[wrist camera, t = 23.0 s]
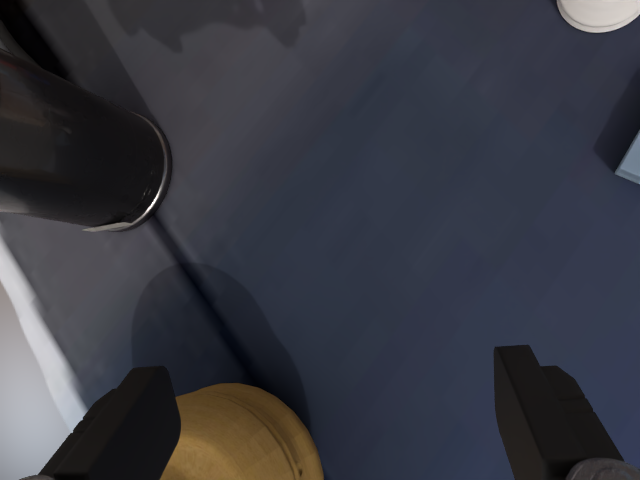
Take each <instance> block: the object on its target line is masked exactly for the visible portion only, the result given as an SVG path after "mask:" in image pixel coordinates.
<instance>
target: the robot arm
mask: <svg viewBox="0 0 640 480" xmlns="http://www.w3.org/2000/svg"><path fill="white" fill-rule="evenodd" d="M0 38H1V40H2V41H3V43H4V44H5V45H6V47H7V48H8V49H9V50H10V52H11V53H12V54H11V53H9V52H7V51H5V50H3V49H1V48H0V211H2V212H8V213H14V214H20V215H26V216H32V217H37V218H43V219H49V220H55V221H61V222H67V223H72V224H78V225H84V226H90V227H94V228H89V229H83V230H85V231H91V232H95V231H101V230H106V231H112V232H123V231H128V230H131V229H133V228H136V227H138V226H139V225H141V224H143V223H144V222H145V221H147V220H148V219H149V218H150V217H151V216H152V215H153V214H154V213H155V212H156V210H157V209H158V208H159V206H160V205H161V203H162V201H163V199H164V197H165V195H166V193H167V190H168V187H169V184H170V179H171V172H172V158H171V152H170V148H169V145H168V142H167V140H166V137H165V136H164V134H163V132H162V131H161V130H160V128H159V127H158V126H157V125H156V124H155V123H153V122H152V121H150V120H149V119H147V118H145V117H143V116H141V115H139V114H136V113H133V112H130V111H128V110H126V109H123V108H121V107H119V106H117V105H115V104H113V103H112V102H110V101H108V100H106V99H104V98H101V97H99V96H97V95H95V94H93V93H91V92H89V91H87V90H85V89H83V88H81V87H79V86H77V85H75V84H73V83H71V82H69V81H67V80H65V79H62V78H60V77H58V76H56V75H54V74H52V73H50V72H48V71H46V70H44V69H42V68H41V67H40V66H39V65H38V64H37V63H36V62H35V61H34V60H33V59H32V58H31V57H30V56H29V55H28V54H27V53H26V52H25V51H24V50H23V49H22V48H21V47H20V46H19V44H18V43H17V42H16V41H15V40H14V38H13V37H12V35H11V34H10V33H9V31H8V30H7V28H6V27H5V25H4V24H3V22H2V20H1V19H0ZM494 391H495V411H496V418H497V423H498V428H499V432H500V435H501V438H502V441H503V444H504V447H505V450H506V453H507V456H508V459H509V462H510V465H511V468H512V472H513V475H514V478H515V480H640V469H638V468H636V467H635V466H633V465H630V464H628V463H625V461H624V460H623V458H622V456H621V455H620V453H619V451H618V450H617V448H616V446H615V445H614V443H613V441H612V440H611V438H610V436H609V435H608V433H607V432H606V430H605V428H604V427H603V425H602V423H601V422H600V420H599V418H598V417H597V415H596V413H595V412H593V408H592V407H591V405H590V403H589V402H588V400H587V398H585V395H584V394H583V392H582V390H581V389H580V387H579V385H578V384H577V382H576V380H575V379H574V378H573V377H571V376H570V375H569V374H567V373H566V372H564V371H563V370H562V369H560V368H559V367H558V366H540V365H539V363H538V361H537V359H536V357H535V355H534V353H533V351H532V350H531V348H530V346H529V345H517V346H501V347H495V348H494ZM180 433H181V417H180V413H179V409H178V406H177V402H176V398H175V394H174V391H173V387H172V383H171V379H170V376H169V373H168V370H167V369H166V368H165V367H164V366H154V367H138V368H133V369H132V370H131V371H130V372H129V373H128V375H127V376H126V377H125V379H124V380H123V381H122V383H121V384H120V385H119V386H118V388H117V389H112V390H111V391H110V392H108V393H107V394H106V395H104V396H103V397H102V398H100V399H99V400H98V401H96V402H95V403H94V404H93V406H92V407H91V408H90V409H89V411H88V412H87V413H86V414H85V416H84V417H83V420H82V421H80V422H79V423H78V425H77V426H76V427H75V428H74V430H73V433H70V435H69V436H68V437H67V438H66V440H65V441H64V442H63V444H62V445H61V446H60V447H59V449H58V450H57V451H56V453H55V454H54V455H53V456H52V458H51V459H50V460H49V461H48V463H47V464H46V465H45V466H44V468H43V469H42V470H41V472H40V473H39V474H38V475H34V476H29V477H25V478H22V479H20V480H160V478H161V476H162V474H163V472H164V470H165V468H166V466H167V464H168V462H169V460H170V458H171V456H172V454H173V452H174V450H175V448H176V446H177V444H178V441H179V438H180Z"/></svg>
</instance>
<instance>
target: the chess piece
mask: <svg viewBox="0 0 640 480" xmlns="http://www.w3.org/2000/svg"><path fill="white" fill-rule="evenodd" d="M557 5H558V9H559V11H560V13H561V15H562V17H563V18H564V19H565V20H566V21H567V22H568V23H569V24H570V25H572V26H573V27H575V28H577V29H579V30H582V31H586V32H594V33H600V32H608V31H612V30H616V29H618V28H621V27H623V26H625V25H627V24H628V23H630V22H631V21H633V20H634V19H635V18H636V17H637V16H638V15H639V14H640V0H557Z"/></svg>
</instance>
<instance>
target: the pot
mask: <svg viewBox="0 0 640 480" xmlns="http://www.w3.org/2000/svg"><path fill="white" fill-rule="evenodd" d="M175 398H176V402H177V406H178V409H179V413H180V417H181V433H180V438H179V441H178V444H177V446H176V448H175V450H174V452H173V454H172V456H171V458H170V460H169V462H168V464H167V466H166V468H165V470H164V472H163V474H162V476H161V478H160V480H324V476H323V469H322V465H321V462H320V458H319V454H318V450H317V448H316V446H315V444H314V442H313V440H312V437H311V435H310V433H309V431H308V429H307V428H306V427H305V425H304V424H303V423H302V421H301V420H300V419H299V418H298V416H297V415H296V414H295V412H294V411H292V410H291V409H290V408H289V407H288V406H287V405H285V404H284V403H283V402H282V401H281V400H280V399H279V398H277V397H275V396H274V395H272V394H270V393H268V392H266V391H264V390H262V389H260V388H257V387H253V386H249V385H245V384H240V383H219V384H216V385H212V386H208V387H205V388H201V389H199V390H197V391H195V392H191V393H188V394H184V395H181V396H177V397H175Z"/></svg>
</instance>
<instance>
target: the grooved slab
mask: <svg viewBox="0 0 640 480" xmlns="http://www.w3.org/2000/svg"><path fill="white" fill-rule="evenodd" d="M615 174H616V175H618V176H621V177H623V178H626V179H628V180H631V181H633V182H635V183H638V184H640V129H639V131H638V133H637V135H636V136H635V138H634V140H633V142H632V143H631V145H630V147H629V149H628V150H627V152H626V154H625V156H624V157H623V159H622V161H621V163H620V164H619V166H618V168H617V170H616V171H615Z"/></svg>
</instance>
